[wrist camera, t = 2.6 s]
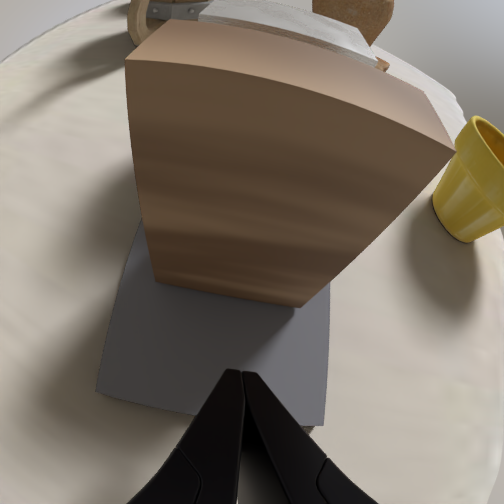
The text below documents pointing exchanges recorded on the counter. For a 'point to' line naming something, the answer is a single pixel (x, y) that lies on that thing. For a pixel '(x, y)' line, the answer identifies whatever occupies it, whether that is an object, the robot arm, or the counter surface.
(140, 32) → the tankard
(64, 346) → the counter surface
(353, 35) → the bearing block
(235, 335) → the mat
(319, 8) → the stone cup
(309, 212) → the wood block
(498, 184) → the plant pot
